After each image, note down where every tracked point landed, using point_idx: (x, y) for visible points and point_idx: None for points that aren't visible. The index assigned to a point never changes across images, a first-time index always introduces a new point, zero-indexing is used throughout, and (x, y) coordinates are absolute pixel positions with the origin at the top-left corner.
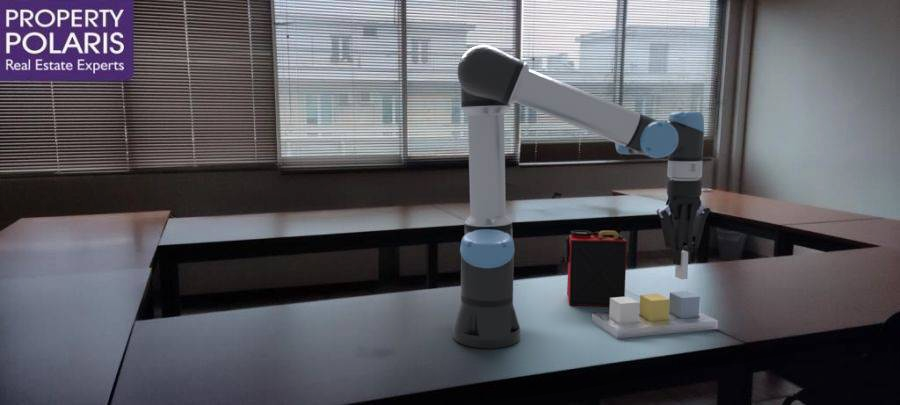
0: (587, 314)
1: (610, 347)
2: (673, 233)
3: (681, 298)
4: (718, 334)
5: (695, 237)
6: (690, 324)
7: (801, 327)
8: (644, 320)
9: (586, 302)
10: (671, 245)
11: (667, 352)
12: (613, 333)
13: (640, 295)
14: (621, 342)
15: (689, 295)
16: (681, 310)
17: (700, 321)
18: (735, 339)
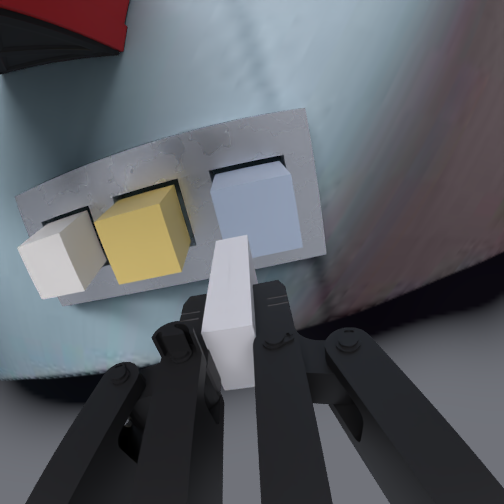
0: (22, 137)
1: (63, 330)
2: (144, 473)
3: None
4: (301, 277)
5: (357, 443)
6: None
7: (480, 238)
8: None
9: (24, 67)
10: (135, 433)
11: (153, 356)
12: None
13: (94, 222)
14: (78, 312)
15: (271, 232)
16: None
17: (275, 258)
18: (320, 304)
